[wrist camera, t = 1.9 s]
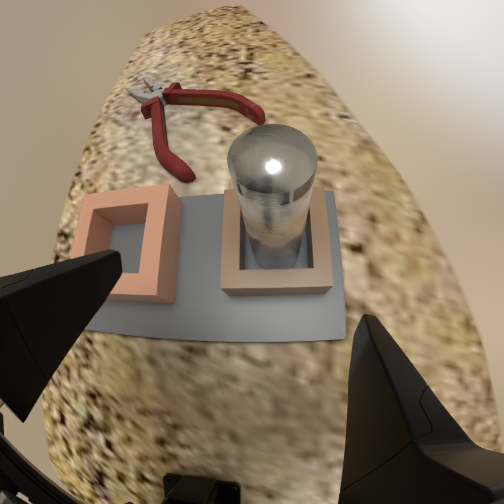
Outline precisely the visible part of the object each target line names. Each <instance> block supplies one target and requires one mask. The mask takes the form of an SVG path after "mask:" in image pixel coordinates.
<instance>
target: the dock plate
mask: <svg viewBox="0 0 504 504" xmlns="http://www.w3.org/2000/svg"><path fill="white" fill-rule="evenodd" d="M178 198H179V199H180V201H181V202H182V204H183V210H182V219H181V229H180V239H179V250H178V261H177V275H176V290H175V303H157V302H134V301H116V300H106V301H105V302H104V304H103V305H102V306H101V308H100V309H99V310H98V312H97V313H96V314H95V316H94V317H93V318H92V320H91V321H90V322H89V324H88V325H87V326H86V328H85V330H92V331H99V332H106V333H114V334H123V335H132V336H142V337H152V338H165V339H179V340H197V341H222V342H291V341H317V340H334V339H346V325H345V302H344V286H343V272H342V260H341V249H340V239H339V230H338V221H337V213H336V206H335V198H334V191H324V187H313V188H312V194H311V199H310V204H309V209H308V214H307V219H306V224H305V229H304V234H303V238H302V243H301V248H300V253H299V256H298V259H297V260H296V262H295V263H294V264H293V265H292V266H291V267H290V268H288V269H264V268H263V267H261V266H260V265H259V264H258V263H257V261H256V260H255V258H254V255H253V252H252V248H251V245H250V241H249V238H248V234H247V231H246V227H245V224H244V220H243V217H242V213H241V210H240V206H239V203H238V199H237V196H236V192H235V189H230V190H224V194H215V195H200V196H186V197H178ZM144 229H145V223H137V224H124V225H113V230H112V235H111V241H110V247H109V249H113V250H116V251H119V252H120V254H121V260H122V268H123V272H122V273H139V269H140V260H141V251H142V243H143V236H144Z"/></svg>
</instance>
